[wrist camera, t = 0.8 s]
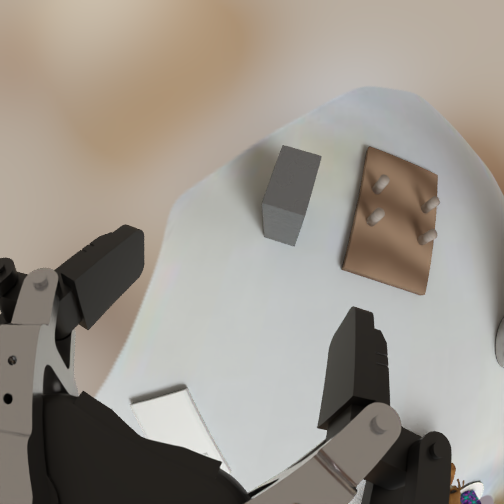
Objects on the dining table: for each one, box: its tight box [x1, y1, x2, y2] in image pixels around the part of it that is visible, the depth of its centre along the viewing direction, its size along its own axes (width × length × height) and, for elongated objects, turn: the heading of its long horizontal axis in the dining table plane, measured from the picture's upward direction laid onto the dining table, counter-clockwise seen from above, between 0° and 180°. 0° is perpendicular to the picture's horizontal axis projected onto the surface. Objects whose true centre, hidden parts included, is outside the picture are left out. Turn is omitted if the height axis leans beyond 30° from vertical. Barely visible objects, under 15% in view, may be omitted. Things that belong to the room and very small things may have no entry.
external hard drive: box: [130, 388, 231, 474], centre depth 27 cm, size 2×8×12 cm
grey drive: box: [262, 145, 322, 246], centre depth 28 cm, size 6×4×10 cm, turn 161°
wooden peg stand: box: [342, 146, 440, 295], centre depth 29 cm, size 17×11×4 cm, turn 161°
